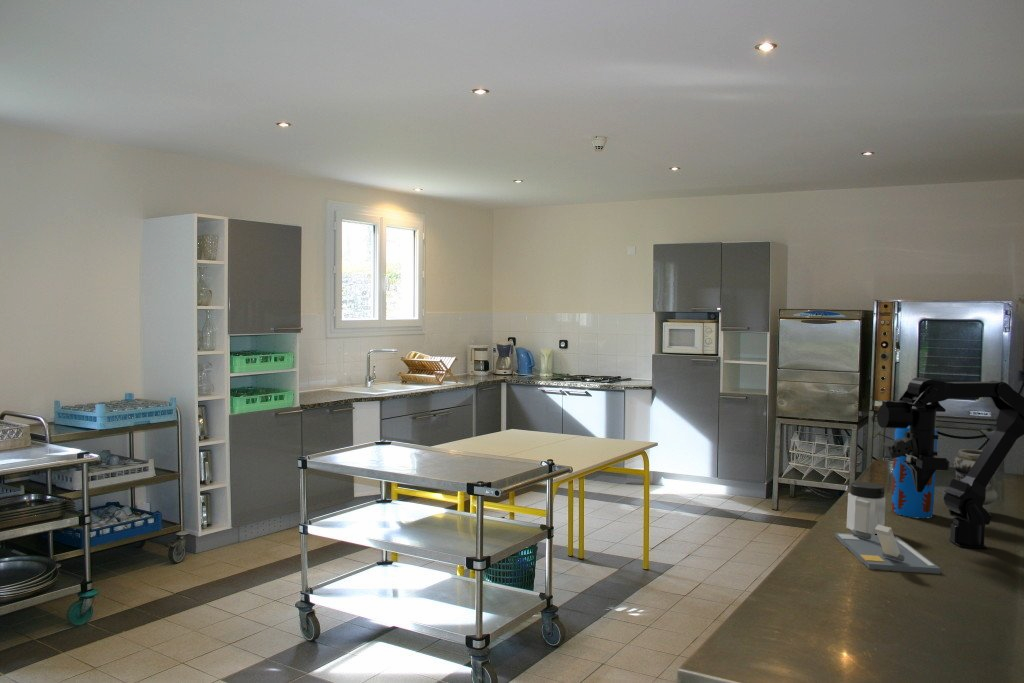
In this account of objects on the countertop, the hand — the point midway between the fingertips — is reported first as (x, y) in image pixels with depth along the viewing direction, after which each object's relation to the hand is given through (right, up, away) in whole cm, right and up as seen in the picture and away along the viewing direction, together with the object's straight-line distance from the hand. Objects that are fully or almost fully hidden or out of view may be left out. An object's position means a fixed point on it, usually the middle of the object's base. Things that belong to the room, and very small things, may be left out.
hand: (918, 491), depth 195 cm
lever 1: (-15, -10, 0) cm, 18 cm away
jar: (-8, -13, +11) cm, 19 cm away
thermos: (+14, -13, +31) cm, 36 cm away
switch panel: (-13, -13, -9) cm, 21 cm away
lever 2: (-15, -11, -18) cm, 26 cm away
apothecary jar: (+34, -13, +35) cm, 50 cm away
